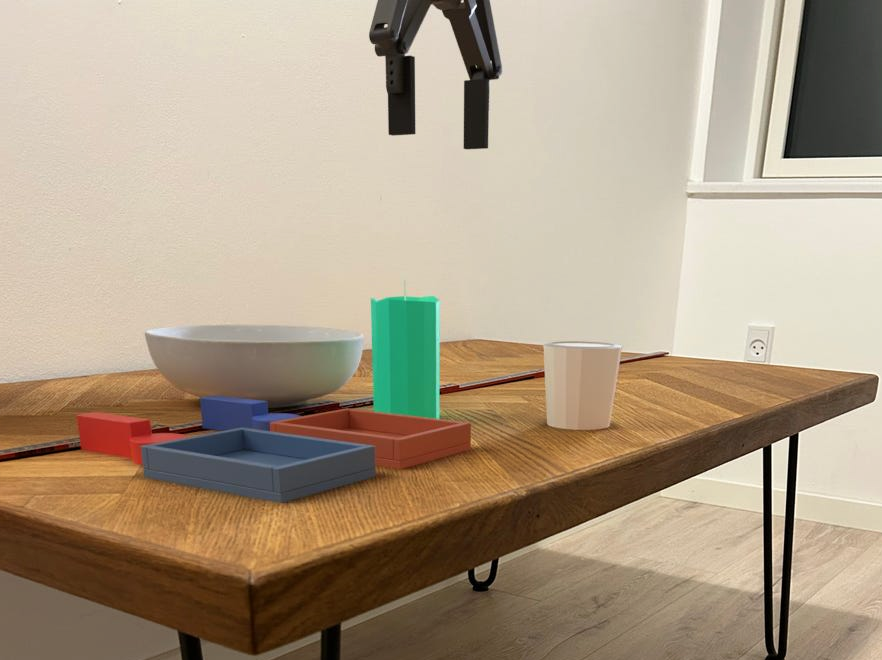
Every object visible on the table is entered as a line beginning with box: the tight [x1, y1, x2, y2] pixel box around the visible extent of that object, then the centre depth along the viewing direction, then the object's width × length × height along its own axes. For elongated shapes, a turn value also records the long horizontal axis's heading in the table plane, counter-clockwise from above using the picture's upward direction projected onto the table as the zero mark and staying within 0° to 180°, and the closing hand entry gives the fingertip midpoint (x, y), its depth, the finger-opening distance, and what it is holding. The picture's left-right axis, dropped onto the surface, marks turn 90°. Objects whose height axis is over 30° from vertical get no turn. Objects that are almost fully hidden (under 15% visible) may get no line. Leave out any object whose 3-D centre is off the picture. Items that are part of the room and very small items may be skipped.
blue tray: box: [141, 428, 377, 504], centre depth 63 cm, size 12×9×2 cm
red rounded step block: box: [76, 411, 189, 466], centre depth 69 cm, size 10×4×3 cm, turn 58°
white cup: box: [542, 340, 623, 431], centre depth 84 cm, size 7×7×7 cm
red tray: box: [270, 407, 472, 470], centre depth 72 cm, size 12×9×2 cm
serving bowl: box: [144, 324, 365, 409], centre depth 94 cm, size 21×21×7 cm
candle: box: [370, 279, 440, 419], centre depth 84 cm, size 6×6×12 cm
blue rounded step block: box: [199, 395, 302, 432], centre depth 78 cm, size 10×4×3 cm, turn 58°
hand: (440, 142), depth 97 cm, fingers open, 13 cm apart
